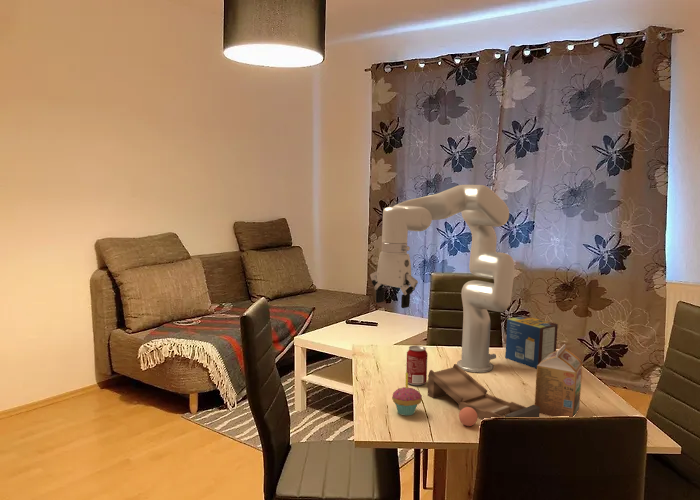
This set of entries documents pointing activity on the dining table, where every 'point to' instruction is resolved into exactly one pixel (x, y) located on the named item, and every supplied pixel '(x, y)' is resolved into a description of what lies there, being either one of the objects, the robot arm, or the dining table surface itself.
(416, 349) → the soda can
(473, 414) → the ball
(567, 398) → the milk carton
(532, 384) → the dining table surface
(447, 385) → the lane
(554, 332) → the protein box
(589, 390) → the dining table surface
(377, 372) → the dining table surface
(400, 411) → the cupcake
